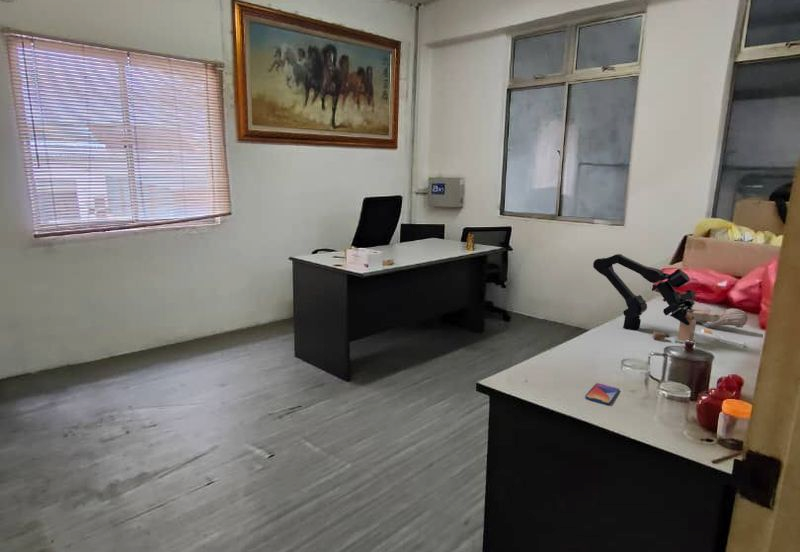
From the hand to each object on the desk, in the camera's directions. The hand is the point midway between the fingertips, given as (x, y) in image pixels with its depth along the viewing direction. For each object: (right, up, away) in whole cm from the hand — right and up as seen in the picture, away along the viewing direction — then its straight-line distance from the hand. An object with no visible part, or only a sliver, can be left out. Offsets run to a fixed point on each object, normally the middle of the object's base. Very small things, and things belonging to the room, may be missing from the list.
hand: (691, 323), depth 212 cm
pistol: (+19, -9, +10) cm, 23 cm away
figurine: (+27, -5, +30) cm, 40 cm away
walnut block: (-12, -7, +4) cm, 15 cm away
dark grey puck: (-7, -6, +11) cm, 14 cm away
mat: (-1, -8, +3) cm, 9 cm away
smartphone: (-62, -17, -57) cm, 87 cm away
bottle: (-1, -7, +3) cm, 8 cm away
